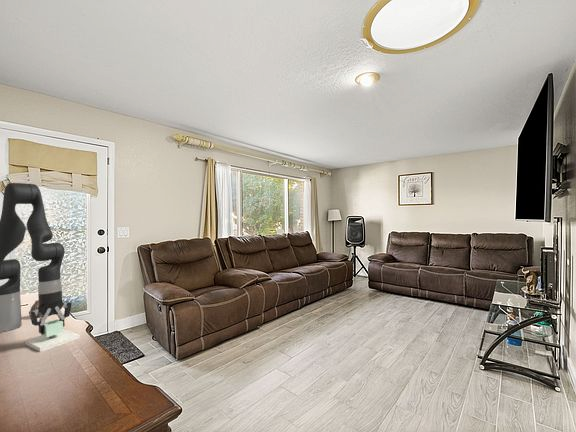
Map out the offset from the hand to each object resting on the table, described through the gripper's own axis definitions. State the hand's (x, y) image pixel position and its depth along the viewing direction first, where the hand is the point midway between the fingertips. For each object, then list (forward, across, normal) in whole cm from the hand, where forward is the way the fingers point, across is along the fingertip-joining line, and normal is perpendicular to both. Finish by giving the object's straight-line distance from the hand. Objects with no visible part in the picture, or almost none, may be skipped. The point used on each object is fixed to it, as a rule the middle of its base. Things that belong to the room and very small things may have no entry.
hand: (52, 330), depth 116 cm
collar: (+1, 0, 0) cm, 1 cm away
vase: (+5, -10, -49) cm, 50 cm away
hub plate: (+4, 0, 0) cm, 4 cm away
